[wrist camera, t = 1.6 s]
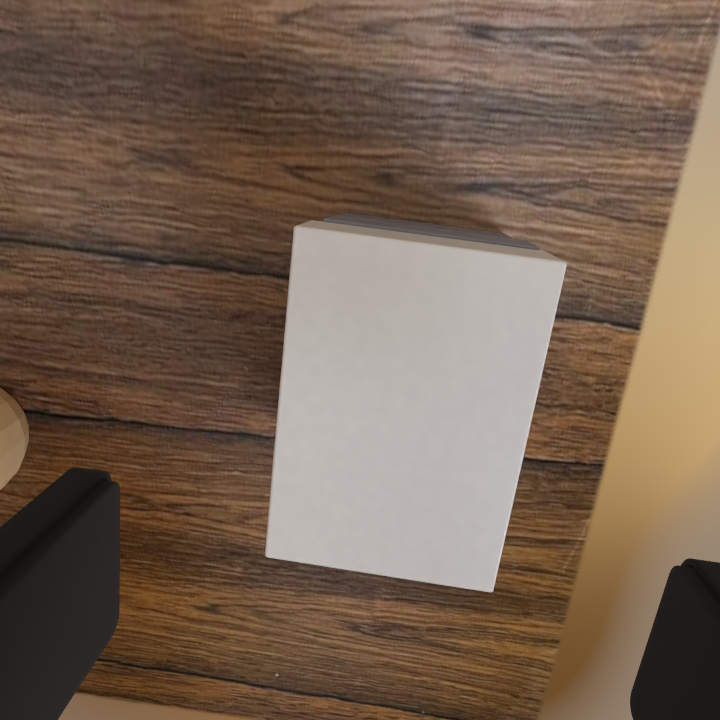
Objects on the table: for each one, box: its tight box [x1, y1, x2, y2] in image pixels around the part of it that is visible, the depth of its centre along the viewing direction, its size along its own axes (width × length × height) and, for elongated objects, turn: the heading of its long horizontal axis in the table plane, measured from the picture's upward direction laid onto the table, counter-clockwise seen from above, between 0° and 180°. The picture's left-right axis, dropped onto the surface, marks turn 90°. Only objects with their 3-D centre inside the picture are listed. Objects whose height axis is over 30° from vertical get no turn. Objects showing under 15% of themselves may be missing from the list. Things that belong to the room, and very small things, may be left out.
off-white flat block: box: [265, 220, 567, 592], centre depth 18 cm, size 10×7×2 cm
